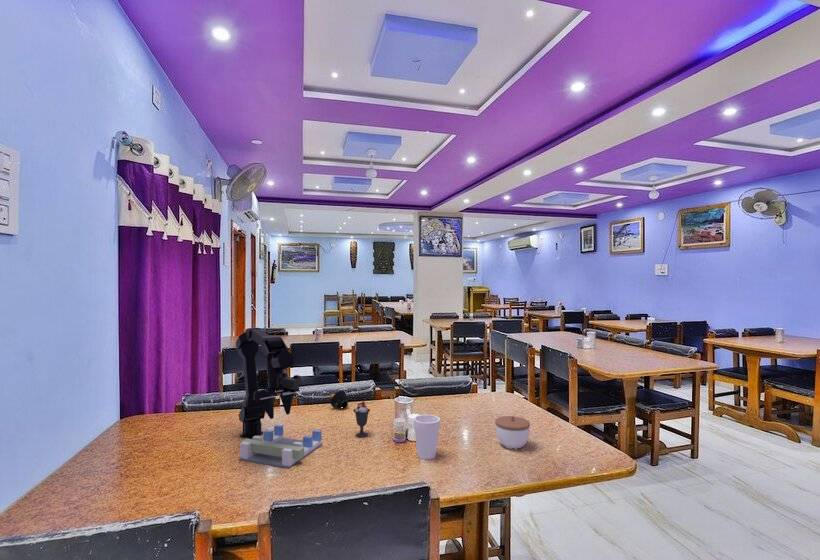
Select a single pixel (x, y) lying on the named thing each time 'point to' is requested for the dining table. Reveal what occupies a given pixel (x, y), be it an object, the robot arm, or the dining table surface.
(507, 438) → the lidded bowl
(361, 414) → the sundae
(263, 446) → the green flat block
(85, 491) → the dining table surface
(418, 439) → the foam cup
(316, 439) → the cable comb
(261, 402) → the robot arm
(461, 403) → the dining table surface
